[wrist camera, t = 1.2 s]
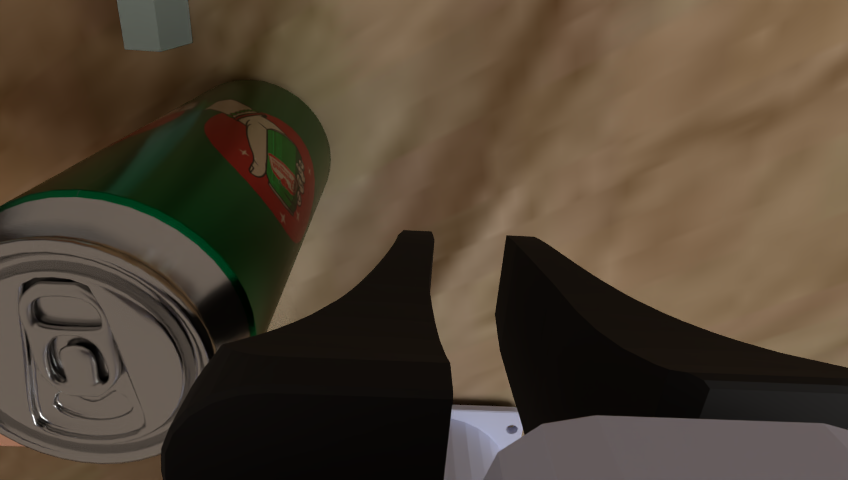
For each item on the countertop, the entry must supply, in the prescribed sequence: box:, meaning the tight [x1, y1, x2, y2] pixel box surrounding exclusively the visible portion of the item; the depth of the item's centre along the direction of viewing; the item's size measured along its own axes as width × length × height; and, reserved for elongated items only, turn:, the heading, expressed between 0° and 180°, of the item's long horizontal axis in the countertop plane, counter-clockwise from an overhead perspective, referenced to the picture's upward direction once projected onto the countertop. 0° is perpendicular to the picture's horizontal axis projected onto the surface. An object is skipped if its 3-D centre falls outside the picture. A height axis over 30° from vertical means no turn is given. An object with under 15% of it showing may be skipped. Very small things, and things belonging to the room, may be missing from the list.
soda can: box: [0, 80, 331, 464], centre depth 14 cm, size 5×5×12 cm
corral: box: [0, 0, 193, 446], centre depth 18 cm, size 24×12×2 cm, turn 176°
